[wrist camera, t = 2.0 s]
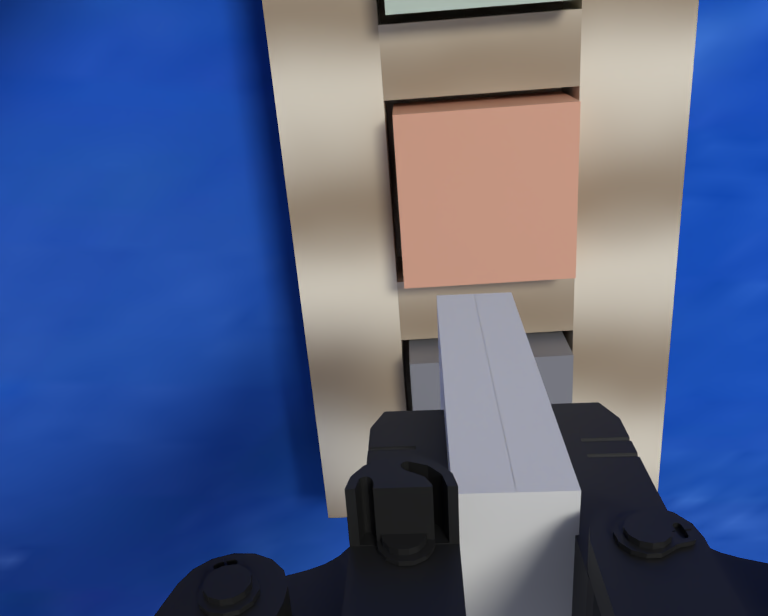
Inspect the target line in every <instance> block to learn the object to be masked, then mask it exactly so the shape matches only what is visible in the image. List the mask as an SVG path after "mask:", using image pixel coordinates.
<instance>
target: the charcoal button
mask: <svg viewBox="0 0 768 616" xmlns="http://www.w3.org/2000/svg"><path fill="white" fill-rule="evenodd" d="M526 336H527V338H528V341H529V344H530V347H531V350H532V353H533V355H534V358H535V361H536V364H537V367H538V370H539V372H540V375H541V378H542V381H543V384H544V387H545V389H546V392H547V395H548V398H549V401H550V404H561V403H572V394H573V358H574V355H573V353H572V351H571V349H570V347H569V345H568V343H567V341H566V339H565V337H564V334H563V332H562V331H552V332H534V333H526ZM409 358H410V377H411V392H412V406H413V411H416V410H441V403H440V376H439V348H438V338H430V339H413V340H409Z"/></svg>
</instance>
